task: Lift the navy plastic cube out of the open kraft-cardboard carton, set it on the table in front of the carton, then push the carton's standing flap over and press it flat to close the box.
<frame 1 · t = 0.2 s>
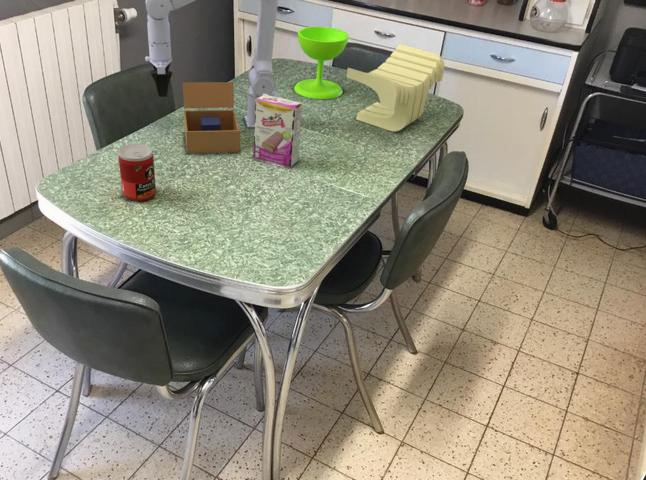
hand: (162, 90, 176), 10 cm above the table, tool pointing down, fingers open, 7 cm apart
carton: (211, 142, 175), on the table
candy bar box: (275, 160, 169), on the table
flap: (208, 95, 175), point 10 cm above the table, hinge at 110.0°
wineglass: (318, 90, 211), on the table
cube: (210, 138, 176), resting on carton
slatted curved stool: (389, 120, 194), on the table
canned food: (139, 194, 151), on the table
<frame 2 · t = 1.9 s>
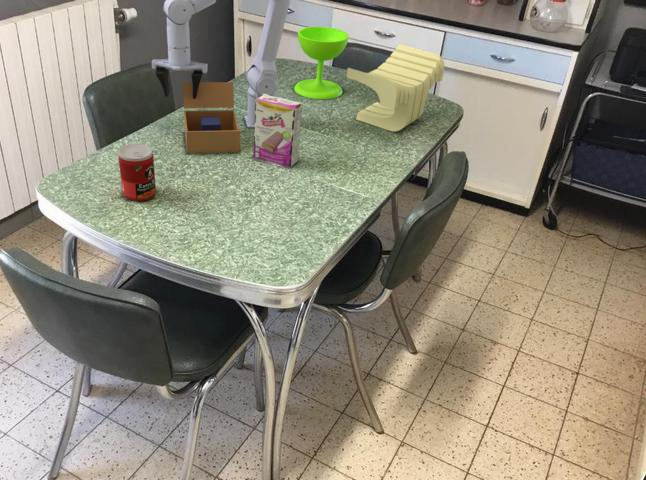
hand: (181, 96, 174), 10 cm above the table, tool pointing down, fingers open, 7 cm apart
flap: (208, 95, 175), point 10 cm above the table, hinge at 115.7°
everything else where it was.
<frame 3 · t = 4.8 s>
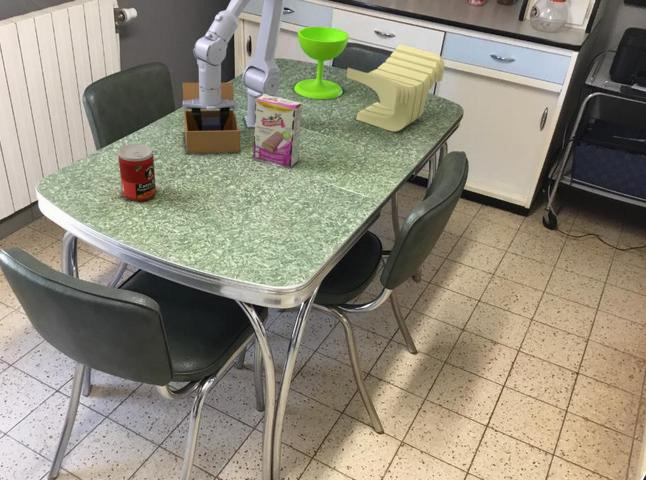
hand: (210, 133, 175), 2 cm above the table, tool pointing down, fingers closed on cube, 5 cm apart
flap: (208, 95, 176), point 10 cm above the table, hinge at 121.3°
cube: (210, 138, 176), resting on carton, touching gripper
everything else where it was.
when the fingers open (1 cm above the table, at t = 10.2 s): cube stays where it is, on the table.
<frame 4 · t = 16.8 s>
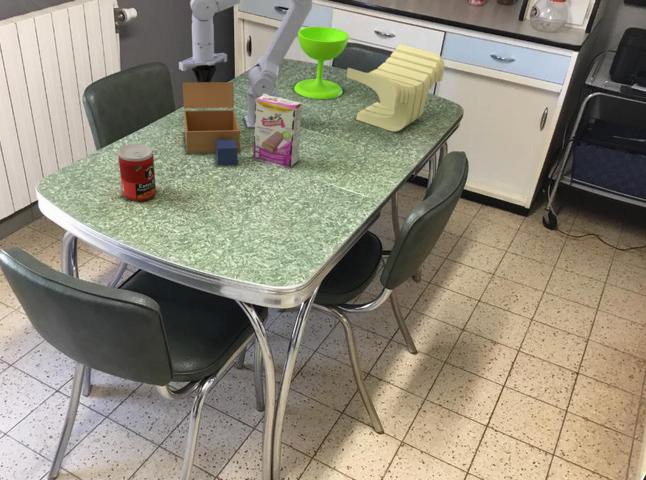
hand: (204, 91, 178), 10 cm above the table, tool pointing down, fingers closed
flap: (208, 95, 175), point 10 cm above the table, hinge at 112.6°
cube: (226, 161, 166), on the table
everything else where it was.
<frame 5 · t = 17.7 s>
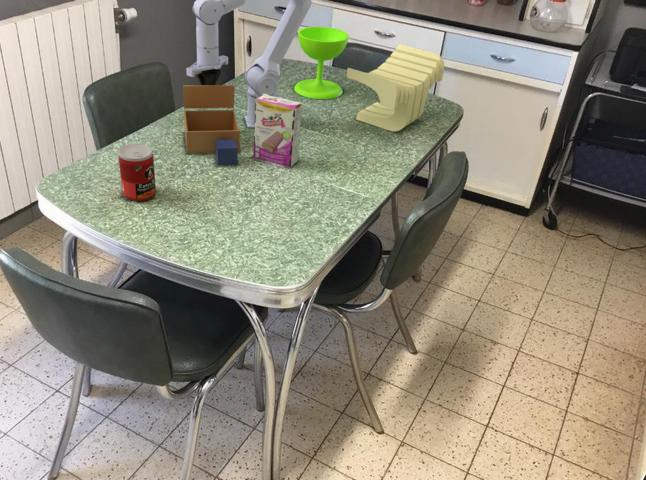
hand: (208, 95, 176), 10 cm above the table, tool pointing down, fingers closed
flap: (209, 96, 174), point 10 cm above the table, hinge at 81.7°
everything else where it was.
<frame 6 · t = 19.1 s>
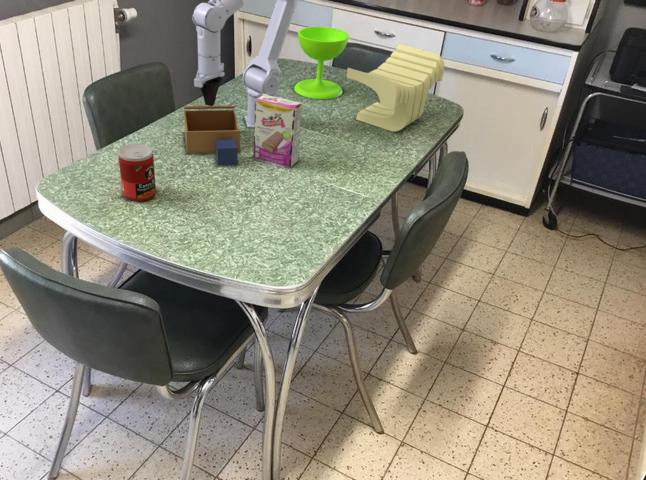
hand: (209, 104, 172), 9 cm above the table, tool pointing down, fingers closed
flap: (209, 107, 173), point 8 cm above the table, hinge at 25.7°
everything else where it was.
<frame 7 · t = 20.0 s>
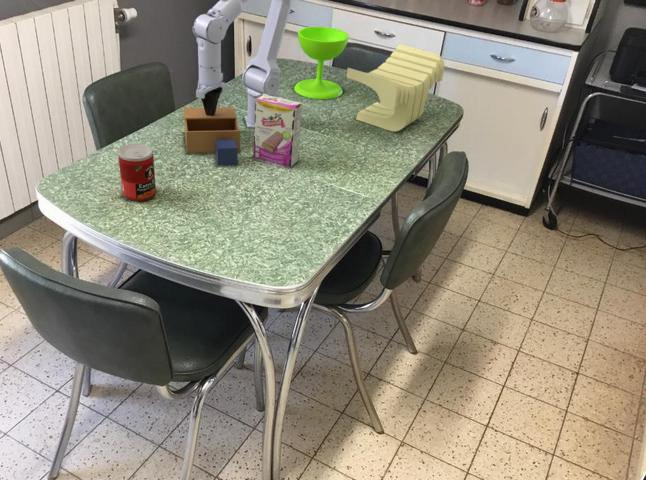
hand: (210, 114, 172), 7 cm above the table, tool pointing down, fingers closed, pressing on flap
flap: (210, 113, 173), point 7 cm above the table, hinge at -0.6°, touching gripper
everything else where it was.
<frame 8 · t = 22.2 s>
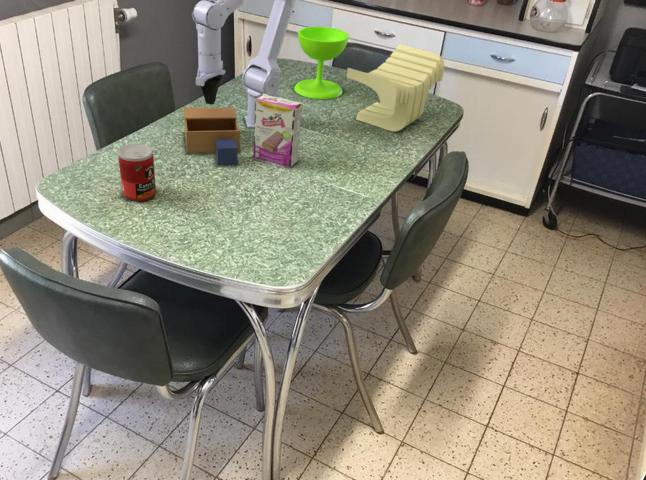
hand: (210, 103, 170), 10 cm above the table, tool pointing down, fingers closed
flap: (210, 113, 173), point 7 cm above the table, hinge at -0.6°
everything else where it was.
at the end: cube 0.0 cm from the target spot, on the table; cube tilted 0°; flap at -1° (first picture: +110°) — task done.
